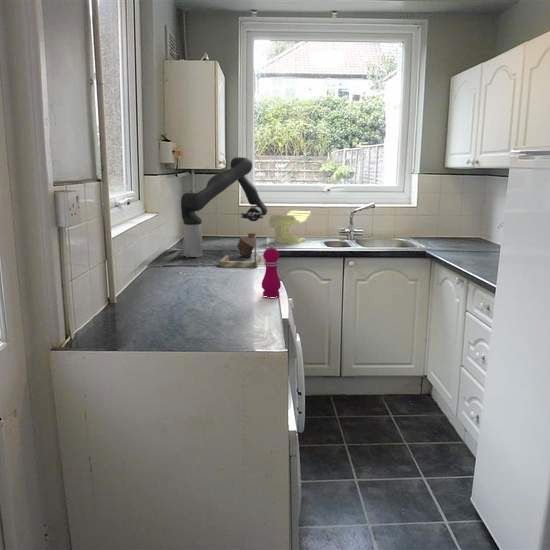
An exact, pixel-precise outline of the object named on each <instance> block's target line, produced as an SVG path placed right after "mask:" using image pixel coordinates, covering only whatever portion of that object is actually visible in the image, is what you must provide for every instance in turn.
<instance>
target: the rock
mask: <svg viewBox="0 0 550 550" xmlns="http://www.w3.org/2000/svg"><path fill="white" fill-rule="evenodd" d="M237 249H238V251H239V255H240V256H241V257H242V258H251V257H252V254H253V250H254V238H248V236H240V238H239V241H238V242H237Z"/></svg>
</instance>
